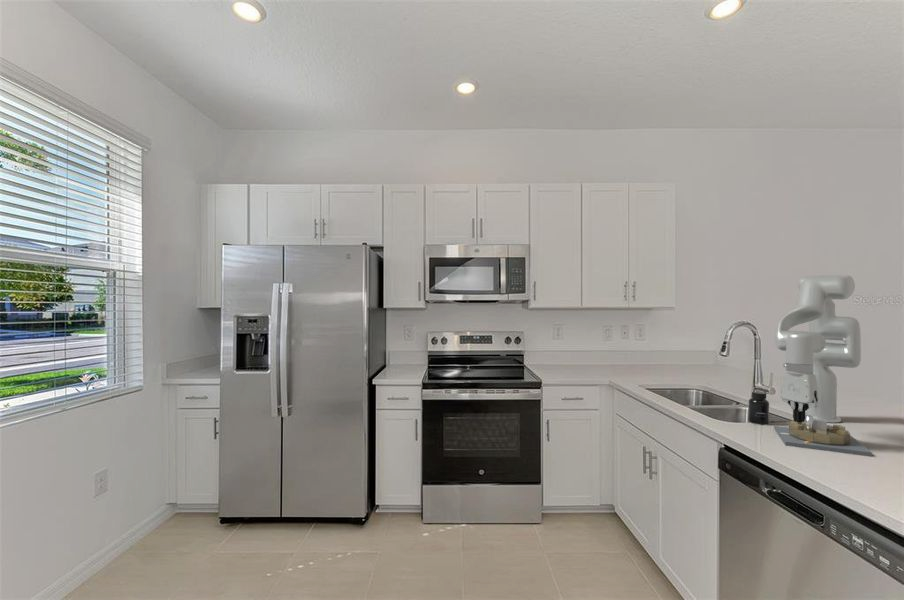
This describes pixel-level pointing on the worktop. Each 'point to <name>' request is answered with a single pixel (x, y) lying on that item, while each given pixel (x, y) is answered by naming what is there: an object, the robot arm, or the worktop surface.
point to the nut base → (849, 448)
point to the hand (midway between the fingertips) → (799, 421)
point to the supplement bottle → (758, 409)
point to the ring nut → (819, 432)
